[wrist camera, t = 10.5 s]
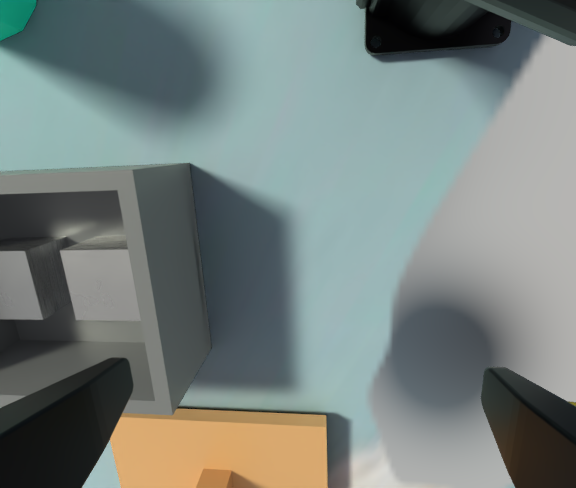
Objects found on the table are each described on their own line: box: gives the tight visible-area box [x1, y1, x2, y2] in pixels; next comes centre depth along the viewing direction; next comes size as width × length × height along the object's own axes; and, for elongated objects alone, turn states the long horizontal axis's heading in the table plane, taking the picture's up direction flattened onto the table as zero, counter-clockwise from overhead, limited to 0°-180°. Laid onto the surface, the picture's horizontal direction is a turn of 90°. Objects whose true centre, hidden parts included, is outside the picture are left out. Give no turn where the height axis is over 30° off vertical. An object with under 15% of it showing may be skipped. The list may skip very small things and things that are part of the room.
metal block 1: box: [0, 237, 72, 320], centre depth 20 cm, size 4×4×3 cm
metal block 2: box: [60, 235, 141, 321], centre depth 19 cm, size 4×4×3 cm
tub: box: [0, 163, 212, 415], centre depth 19 cm, size 14×12×6 cm
